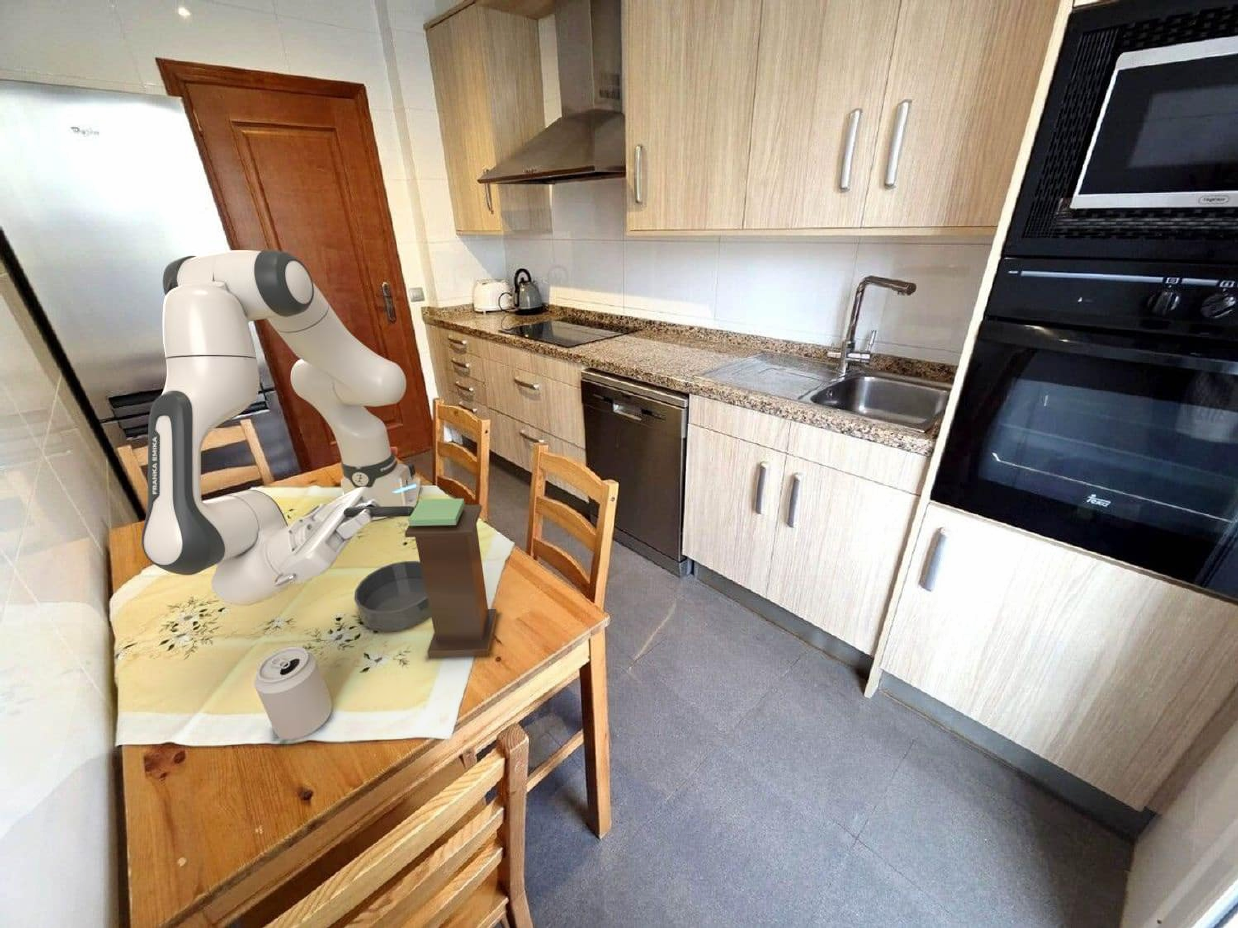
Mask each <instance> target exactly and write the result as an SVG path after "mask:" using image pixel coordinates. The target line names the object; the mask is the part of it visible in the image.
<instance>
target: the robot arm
mask: <svg viewBox="0 0 1238 928" xmlns="http://www.w3.org/2000/svg"><path fill="white" fill-rule="evenodd" d="M161 280H162V281H161V283H162V290H163V293H164V300H163V308H162V339H163V340H162V341H163V350H164V355H165V356H164V357H165V362H166V363H165V364H166V378H165V384H164V388H163V391H162V393H161V395H159V396H158V397H156V398H155V400H154V401H153V402H152V405H151V407H150V412H149V416H148V430H147V509H146V514H145V520H144V523H143V527H142V534H141V546H142V551H143V553H144V555H145V557H146V558H147V559H148V561H150V562H151V563H152V564H153V565H154V566H156V567H158V568H160V569H161V570H163V571H166V572H168V573H171V574H176V575H179V576H194V575H197V574H200V573H201V572H203V571H205V570H207V569H209V568H212V567H213V566H216V569H215V572H214V574H213V575H212V579H211V582H210V583H211V585H210V586H211V590H212V592H213V594H214V595H215V596H216V598H217V599H219V600H220V601H221V602H223V603H225V604H227V605H230V606H231V605H232V606H236V607H246V606H253V605H257V604H260V603H262V602H264V601H267V600H269V599H272V598H274V597H275V596H278V595H280V594H282V593H283V592H285V591H287V590H288V589H290V588H291V587H292V586H293V585H301V584H304V583H306V582H308V581H310V580H312V579H314V578H316V577H319V576H320V575H322V574H324V573H325V572H326V571H328V570H329V569H330V568H331V567H332V566H333V564H334V563H335V562H336V560H337V559H338V557H339V556H340V555H341V553H342V552H343V550H344V549H345V548H346V547H347V545H348V544H349V542H350V541H351V539H352V538H353V537H354V535H355V534H356V533H357V532H359V531H360V530H361V529H362V528H363V527H364V526H367V525H368V524H369V523H371V522H372V521H378V520H383V519H386V518H388V517H374V515H373V513H371V511H370V510H369V509H365V510H363V511H361V512H359V513H358V514H357V515H356V516H355V517H353V518H348V517H345V516H344V513H343V512H344V510H345V509H346V508H348V507H390V506H412V507H413V508H416V506H417V504H418V498H419V495H420V489H421V485H422V479H421V478H420V477H417V476H415V475H416V468H415V467H416V466H415V464H414V463H409V462H400V461H397V457H396V456H395V455H398V450H399V449H398V447H397V446H391V445H390V440H389V435H388V429H387V427H386V425H385V423H384V421H382V420H381V419H380V418H379V417H377V416H375V415H374V414H373V413H371V412H370V411H368V410H367V408H366V407H375V408H376V407H383V406H389V405H395V404H397V403H399V402H400V401H401V400H402V398H404V395H405V392H406V389H407V379H406V375H405V372H404V371H403V369H402V368H401V366H400V365H398V364H397V363H396V362H393V361H391V360H389V359H387V358H385V357H383V356H381V355H379V354H377V353H376V352H374V351H373V350H371V349H370V348H369V347H368V346H366V345H364V343H362V342H361V341H360V340H359V339H357V338H356V336H354V335H353V334H352V333H351V332H350V331H349V330H348V329H347V327H346V326H345V325H344V324H343V322H342V321H341V320H340V318H339V316H338V315H337V313H336V312H335V311H334V309H333V308H332V306H331V305H330V303H329V302H328V301H327V299H326V297H325V296H324V295H323V293H322V291H321V290H320V288H318V286H316V284H315V282H313V279H312V276H311V274H310V272H309V270H308V268H307V267H306V265H305V264H304V263H302V261H300V260H299V259H298V258H297V257H295V255H293V254H291V253H289V252H286V251H281V250H278V249H277V250H276V249H263V250H246V249H245V250H243V249H242V250H241V249H240V250H226V251H223V252H216V253H208V254H203V255H187V256H184V257H180V258H177V259H175V260H173V261H170V262H169V263H168V265H166V266H165V269H164V271H163V274H162V279H161ZM260 320H267V321H268V322H269V324H270V325H271V326H272V327H273V329H274V330H275V331H276V333H277V334H278V336H280V338H281V339H282V340H283V341H284V343H285V344H286V345H287V346H288V348H289V349H290V350H291V351H292V353H293V354H294V355H295V356H296V357H297V358H299V359H298V360H297V361H296V362H295V363H294V364H293V366H292V368H291V371H290V383H291V387H292V389H293V391H294V392H295V394H296V395H297V396H298V397H300V398H301V399H303V400H304V401H306V402H307V403H309V404H310V405H311V406H312V407H313V408H315V409H316V410H317V412H318V413H319V414H320V415H321V417H323V419H324V420H325V421H326V423H327V424H328V426H329V427H330V430H331V431H332V433H333V435H334V438H335V441H336V445H337V447H338V450H339V454H340V457H341V460H340V469H341V471H342V474H343V477H342V478H341V480H340V485H341V491H342V493H341V494H342V495H341V496H339V497H336V498H335V499H333V500H332V501H330V502H328V503H325V502H322V503H319V504H317V505H316V506H315V507H314V508H312V509H311V510H310V511H309V512H307V513H305V515H304V516H302V517H300V518H298V519H296V520H295V521H293V522H291V523H290V524H288V522H287V521H288V520H287V519H286V517H285V515H284V513H283V511H282V509H281V508H280V505H278V503H277V502H276V501H275V500H274V499H273V498H272V497H271V496H270V495H268V494H267V493H265V492H263V491H261V490H257V489H247V490H241V491H237V492H232V493H229V494H224V495H220V496H217V497H213V498H210V499H204V500H202V462H201V461H202V447H203V444H204V441H205V439H206V438H207V437H208V435H209V434H210V433H211V432H212V431H213V430H214V429H216V428H217V427H218V426H220V425H221V424H222V423H224V422H226V421H229V420H230V419H232V418H234V417H236V416H238V415H241V413H242V412H244V411H245V410H247V409H248V408H249V407H250V406H251V405H252V404H253V403H254V401H255V400H256V398H257V397H258V395H259V390H260V371H259V366H258V360H257V353H256V347H255V343H254V339H253V335H252V331H251V328H250V325H249V323H250V322H255V321H260Z"/></svg>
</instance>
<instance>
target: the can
mask: <svg viewBox="0 0 1238 928" xmlns="http://www.w3.org/2000/svg"><path fill="white" fill-rule="evenodd" d="M254 688H255V690H256V693H257V695H258V697H259V699H260V701H261V704H262V706H263V708H264V710H265V712H266V715H267V717H268V719H269V722H270V725H271V726H272V728H273V731H274V733H275V734H276V736H277V737H278V738H281V739H284V740H295V739H300V738H303V737H306V736H308V735H311V734H312V733H314V732H316V731H317V730H318V729H319V728H320V727H321V726H323V724H325V722H327V720H328V718H329V717H330V715H331V713H332V710H333V704H332V699H331V696H330V694H329V691H328V688H327V685H326V682H325V680H324V677H323V674H322V670H321V669H320V666H319V663H318V660H317V657H316V656H315V654H314V653H313V652H310V651H309V650H307V649H306V648H305V647H302V646H296V645H295V646H289V647H287V646H286V647H284V648H280V649H278V650H277V651H274V652H273V653H271V654H269V655H267V657H265V658H264V659H263V660H262V661H261V663H260V664H259V665H258V667H257V669H256V676H255V678H254Z"/></svg>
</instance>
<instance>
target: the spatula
mask: <svg viewBox="0 0 1238 928" xmlns="http://www.w3.org/2000/svg"><path fill="white" fill-rule="evenodd" d="M464 505H466V503H465V498H423V499H422V498H421V499H419V501H417V504H416V506H415V507H412V506H390V507H348V508H346V509H345V510H344V512H343V513H344V516H345V517H348V518H353V517H355V516H356V515H357V514H358V513H359V512H361V511H363V510H365V509H369V510H370V511H371V513H373V515H374V517H387V518H394V517H395V518H396V517H398V518H399V517H400V518H401V517H409V518H408V523H409V525H410V526H430V525H456V524H457V522H458V520H459V517H460V515H461V512H462V510H463V508H464Z"/></svg>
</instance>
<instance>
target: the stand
mask: <svg viewBox="0 0 1238 928" xmlns="http://www.w3.org/2000/svg"><path fill="white" fill-rule="evenodd" d="M482 510H483V505H482V504H465V505H464V508H463V510H462V512H461V515H460V517H459V520H458V522H457V524H456V525H430V526H410V524H409V525H408V527H407V528H406V530H405V531H404V537H405V538H414V539H415V544H416V549H417V554H418V558H419V562H420V564H421V569H422V574H423V579H424V584H425V589H426V594H427V598H428V603H429V608H430V613H431V616H430V618H431V622H432V628H433V635H432V637H431V640H430V644H429V646H428V648H427V657H428V659H447V658H449V659H450V658H475V657H477V658H478V657H480V658H481V657H489V654H490V653H489V652H490V648H491V643H492V640H493V636H494V631H495V626H496V622H497V618H498V611H497V608H489V605H488V604H489V603H488V597H487V590H486V583H485V576H484V568H483V561H482V555H481V547H480V539H479V533H478V525H477V523H478V521H479V518H480V516H481V513H482Z"/></svg>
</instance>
